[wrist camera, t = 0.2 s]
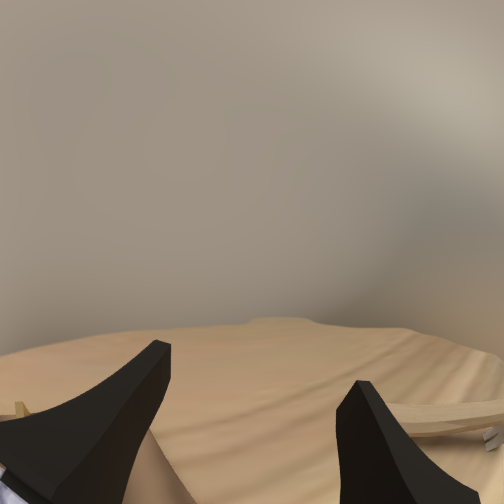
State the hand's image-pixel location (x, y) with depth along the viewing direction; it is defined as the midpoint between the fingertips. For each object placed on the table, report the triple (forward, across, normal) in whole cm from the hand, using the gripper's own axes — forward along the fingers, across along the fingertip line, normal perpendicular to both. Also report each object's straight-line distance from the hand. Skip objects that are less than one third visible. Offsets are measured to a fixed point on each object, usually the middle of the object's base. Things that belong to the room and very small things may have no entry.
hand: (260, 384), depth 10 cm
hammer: (+9, -31, +22) cm, 39 cm away
